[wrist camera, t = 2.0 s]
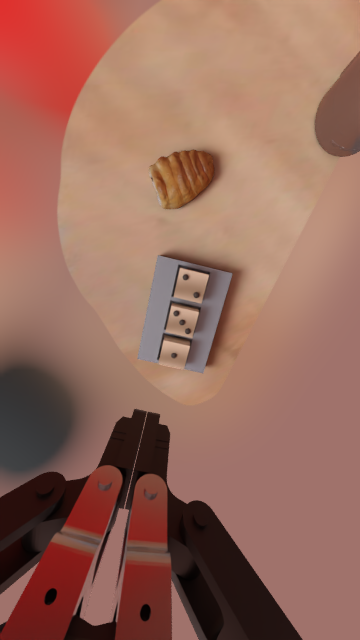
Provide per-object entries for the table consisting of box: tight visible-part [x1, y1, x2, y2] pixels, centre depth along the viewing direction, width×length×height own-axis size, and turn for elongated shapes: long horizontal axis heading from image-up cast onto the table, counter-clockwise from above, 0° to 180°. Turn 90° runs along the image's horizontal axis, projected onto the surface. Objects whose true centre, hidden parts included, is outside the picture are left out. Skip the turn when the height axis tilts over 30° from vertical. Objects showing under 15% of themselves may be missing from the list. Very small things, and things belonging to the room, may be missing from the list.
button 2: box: [174, 267, 209, 304], centre depth 33 cm, size 4×4×3 cm
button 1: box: [158, 335, 190, 370], centre depth 37 cm, size 4×4×3 cm
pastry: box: [149, 150, 214, 209], centre depth 31 cm, size 9×7×4 cm
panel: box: [137, 255, 233, 373], centre depth 37 cm, size 18×12×2 cm, turn 167°
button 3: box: [166, 303, 199, 338], centre depth 35 cm, size 4×4×3 cm
